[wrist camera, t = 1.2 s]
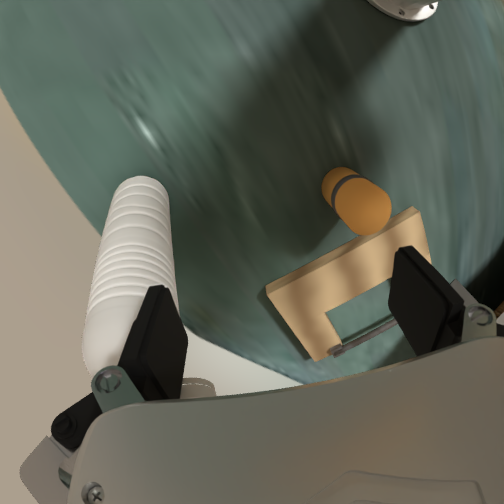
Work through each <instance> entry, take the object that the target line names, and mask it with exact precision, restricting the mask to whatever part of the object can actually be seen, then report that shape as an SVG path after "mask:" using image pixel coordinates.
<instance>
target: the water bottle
mask: <svg viewBox="0 0 504 504" xmlns="http://www.w3.org/2000/svg"><path fill="white" fill-rule="evenodd" d="M155 285H164V286H165V288H167V287H168V288H169V289H170V292H171V295H172V297H173V300H174V303H175V305H176V308H177V311H178V313H179V306H178V298H177V290H176V281H175V270H174V258H173V247H172V235H171V223H170V206H169V197H168V193H167V191H166V189H165V188H164V186H163V185H162V184H161V183H160V182H158V181H157V180H155V179H153V178H150V177H147V176H135V177H133V178H129V179H127V180H125V181H124V182H122V183H121V184H120V185H119V187H118V188H117V189H116V191H115V193H114V196H113V199H112V202H111V206H110V209H109V212H108V216H107V219H106V223H105V227H104V230H103V234H102V239H101V242H100V246H99V251H98V254H97V258H96V263H95V270H94V274H93V279H92V285H91V289H90V296H89V302H88V306H87V313H86V321H85V326H84V332H83V337H82V355H83V359H84V363H85V365H86V368H87V370H88V372H89V374H90V375H91V377H92V379H93V377H94V376H95V374H96V373H97V372H98V371H100V370H101V369H102V368H105V367H107V366H112V365H114V366H117V365H118V362H119V359H120V356H121V354H122V351H123V348H124V345H125V343H126V340H127V337H128V334H129V332H130V329H131V327H132V324H133V322H134V320H136V318H137V315H138V313H139V310H140V308H141V305H142V303H143V300H144V298H145V295H146V293H147V290H148V288H149V286H155ZM179 316H180V313H179ZM189 383H191V384H189ZM195 383H198V384H203V385H198V384H195ZM182 384H188V385H182V387H181V394H180V399H186V398H201V397H214V396H216V392H215V388H214V385H213V384H212V383H211V382H210V381H208V380H205V379H201V378H183V380H182ZM205 385H208V386H205ZM209 386H210V387H209Z"/></svg>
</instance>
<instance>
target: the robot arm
mask: <svg viewBox="0 0 504 504" xmlns="http://www.w3.org/2000/svg"><path fill="white" fill-rule="evenodd" d="M367 1H368V2H369V3H370V4H372V5H373V6H374V7H376V8H377V9H378V10H380V11H382V12H383V13H385V14H387V15H389V16H391V17H394V18H396V19H399V20H403V21H410V22H415V21H421V20H424V19H427V18H429V17H431V16H432V15H433V14H434V12H435V11H436V8H437V5H438V1H441V0H367ZM388 306H389V309H390V311H391V313H392V315H393V316H394V318H395V319H396V321H397V323H398V324H399V326H400V328H401V329H402V331H403V333H404V334H405V336H406V338H407V340H408V341H409V343H410V345H411V346H412V348H413V350H414V352H415V353H416V355H417V357H415V358H411V359H408V360H405V361H402V362H398V363H395V364H392V365H388V366H385V367H381V368H377V369H373V370H370V371H366V372H362V373H358V374H354V375H349V376H345V377H341V378H336V379H332V380H327V381H322V382H317V383H312V384H306V385H301V386H295V387H289V388H282V389H276V390H269V391H262V392H255V393H245V394H237V395H226V396H214V397H201V398H186V399H180V394H181V387H182V380H183V373H184V366H185V359H186V353H187V347H188V337H187V334H186V331H185V329H184V326H183V324H182V321H181V318H180V316H179V313H178V311H177V308H176V305H175V303H174V300H173V297H172V295H171V292H170V289H169V288H168V287H167V288H165V286H164V285H155V286H149V288H148V290H147V293H146V295H145V298H144V300H143V303H142V305H141V308H140V310H139V313H138V315H137V318H136V320H134V322H133V324H132V327H131V329H130V332H129V334H128V337H127V340H126V343H125V345H124V348H123V351H122V354H121V356H120V359H119V362H118V365H117V366H114V365H112V366H107V367H105V368H102V369H101V370H100V371H98V372H97V373H96V374H95V376H94V377H93V379H92V382H91V387H92V391H93V392H92V393H90V394H89V395H87V396H86V397H84V398H83V399H81V400H80V401H79V402H77V403H75V404H74V405H72V406H71V407H70V408H68V409H66V410H65V411H64V412H62V413H60V414H59V415H58V416H57V417H56V418H55V419H54V421H53V423H52V426H51V433H52V435H51V437H50V438H49V437H48V436H46V437H45V438H44V439H43V440H42V441H41V443H40V444H39V445H38V446H37V447H36V449H34V451H33V452H32V453H31V454H30V455H29V456H28V458H27V459H26V460H25V461H24V462H23V464H22V465H21V467H20V478H21V480H22V482H23V483H24V485H25V486H26V487H27V489H28V490H29V491H30V493H31V494H32V495H33V497H34V498H35V499H36V500H37V502H38V503H39V504H504V325H501V324H498V323H496V315H495V314H494V312H493V311H492V310H491V309H490V308H489V307H487V306H486V305H483V304H478V303H475V304H471V305H468V306H467V308H466V307H465V305H464V300H463V298H462V297H461V296H460V295H459V294H458V293H457V292H456V290H455V289H454V288H453V287H452V286H451V285H450V284H449V283H448V282H447V281H446V280H445V278H444V277H443V276H442V275H441V274H440V273H439V272H438V271H437V270H436V269H435V268H434V267H433V266H432V265H431V264H430V263H429V262H428V261H427V260H426V259H425V258H424V257H423V256H422V255H421V254H420V253H419V252H418V251H417V250H416V249H415V248H414V247H413V246H412V245H409V246H404V247H399V249H398V251H396V252H395V255H394V264H393V272H392V280H391V287H390V294H389V300H388Z"/></svg>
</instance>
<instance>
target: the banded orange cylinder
mask: <svg viewBox="0 0 504 504" xmlns="http://www.w3.org/2000/svg"><path fill="white" fill-rule="evenodd" d="M321 190H322V194H323V197H324V199H325V200H326V201H327V202H328V203H329V205H330V206H331V207H332V208H333V210H334V212H335V213H336V214H337V215H338V216H339V218H340V219H342V220H343V221H344V222H345V223H346V224H347V226H348V227H349V228H350V229H351V230H352V231H353V232H354V233H356V234H359V235H371V234H374V233H376V232H378V231H380V230H381V229H382V228H383V227H384V226H385V225H386V223H387V222H388V220H389V217H390V214H391V201H390V198H389V196H388V195H387V193H386V192H385V191H384V190H382V189H381V188H379V187H378V186H376V185H375V184H374V183H373V182H372V181H370V180H369V179H367V178H366V177H364V176H362V175H359V174H358V173H356V172H354V171H353V170H351V169H349V168H346V167H337V168H334V169H332V170H331V171H329V172H328V173H327V174H326V176H325V177H324V179H323V181H322V186H321Z"/></svg>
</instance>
